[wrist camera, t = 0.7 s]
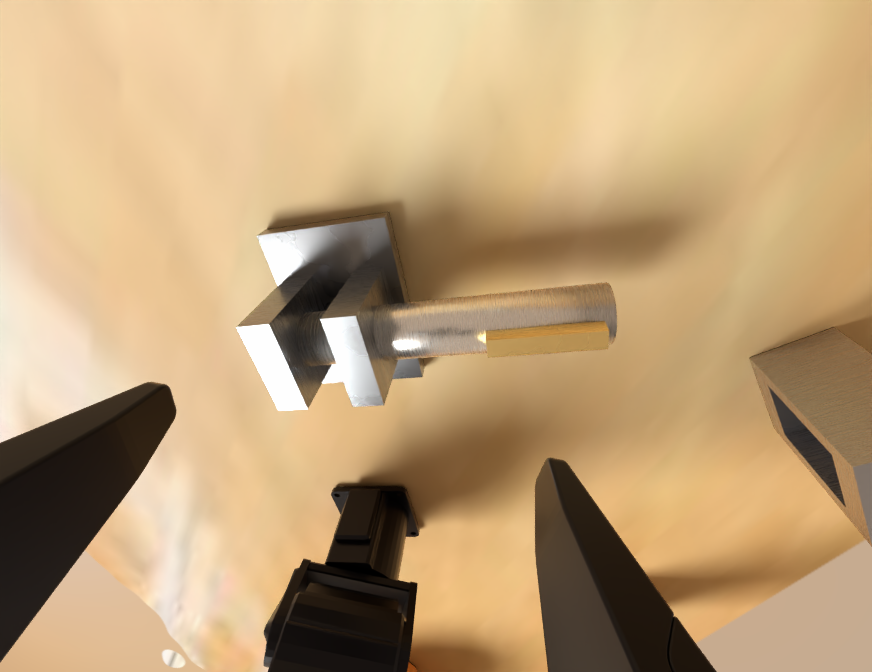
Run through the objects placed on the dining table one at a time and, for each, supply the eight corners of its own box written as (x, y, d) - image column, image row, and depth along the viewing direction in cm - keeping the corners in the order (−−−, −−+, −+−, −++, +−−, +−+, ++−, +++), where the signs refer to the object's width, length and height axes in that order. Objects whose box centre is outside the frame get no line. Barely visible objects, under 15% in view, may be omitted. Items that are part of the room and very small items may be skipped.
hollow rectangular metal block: (851, 405, 23) (986, 526, 17) (774, 428, 25) (872, 546, 19) (833, 327, 21) (985, 434, 14) (749, 357, 22) (852, 466, 16)
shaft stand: (587, 355, 23) (615, 433, 18) (323, 374, 27) (284, 444, 21) (595, 181, 18) (637, 221, 13) (265, 229, 21) (195, 277, 16)
